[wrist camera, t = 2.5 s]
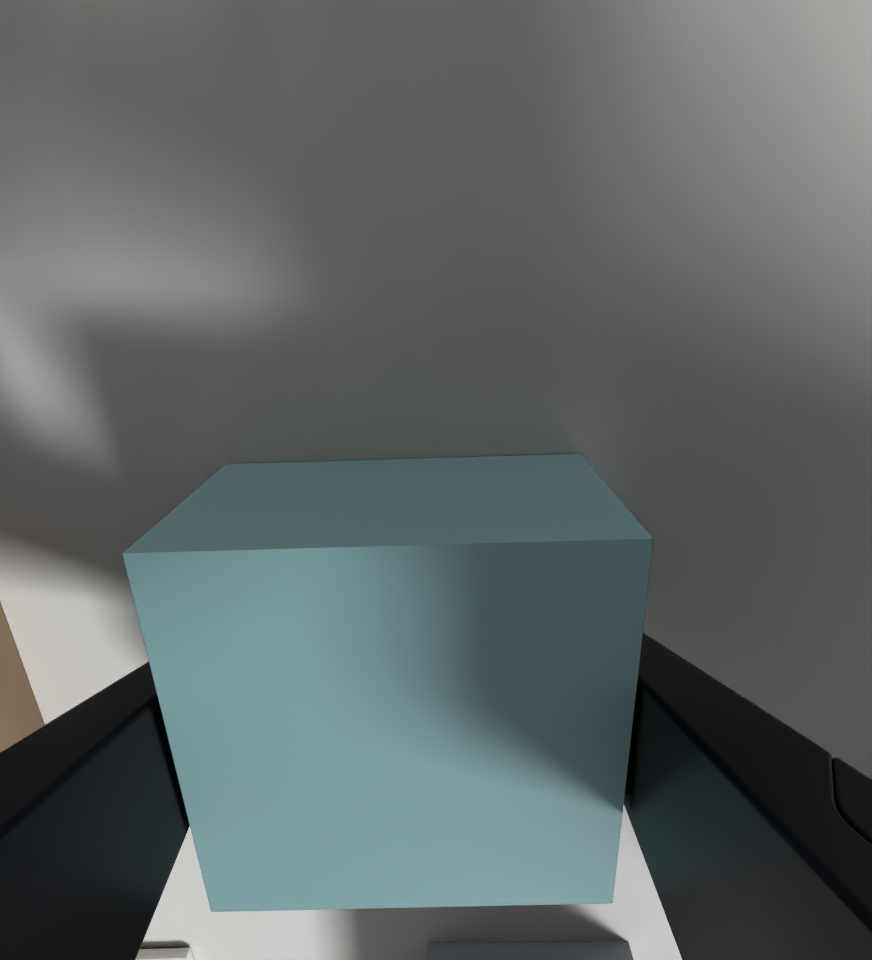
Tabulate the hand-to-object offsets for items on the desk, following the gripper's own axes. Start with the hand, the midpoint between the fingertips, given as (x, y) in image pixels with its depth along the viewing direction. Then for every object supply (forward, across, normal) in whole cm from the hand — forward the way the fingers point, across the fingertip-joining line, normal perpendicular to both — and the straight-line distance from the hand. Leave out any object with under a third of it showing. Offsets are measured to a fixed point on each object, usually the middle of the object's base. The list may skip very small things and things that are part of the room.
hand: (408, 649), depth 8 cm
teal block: (+1, 0, 0) cm, 1 cm away
